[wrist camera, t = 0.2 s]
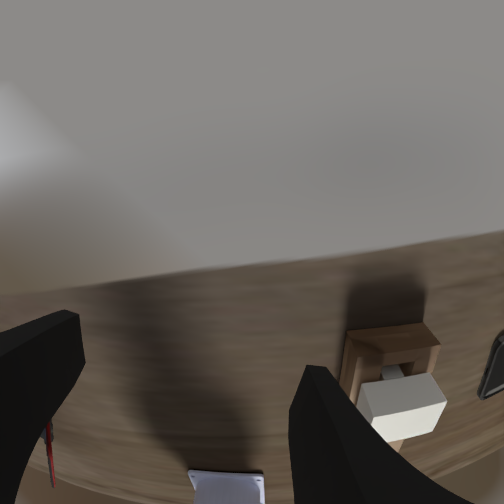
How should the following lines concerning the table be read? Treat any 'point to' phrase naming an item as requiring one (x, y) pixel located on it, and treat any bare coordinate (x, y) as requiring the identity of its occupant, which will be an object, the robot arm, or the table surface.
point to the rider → (401, 403)
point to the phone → (493, 372)
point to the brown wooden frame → (386, 356)
